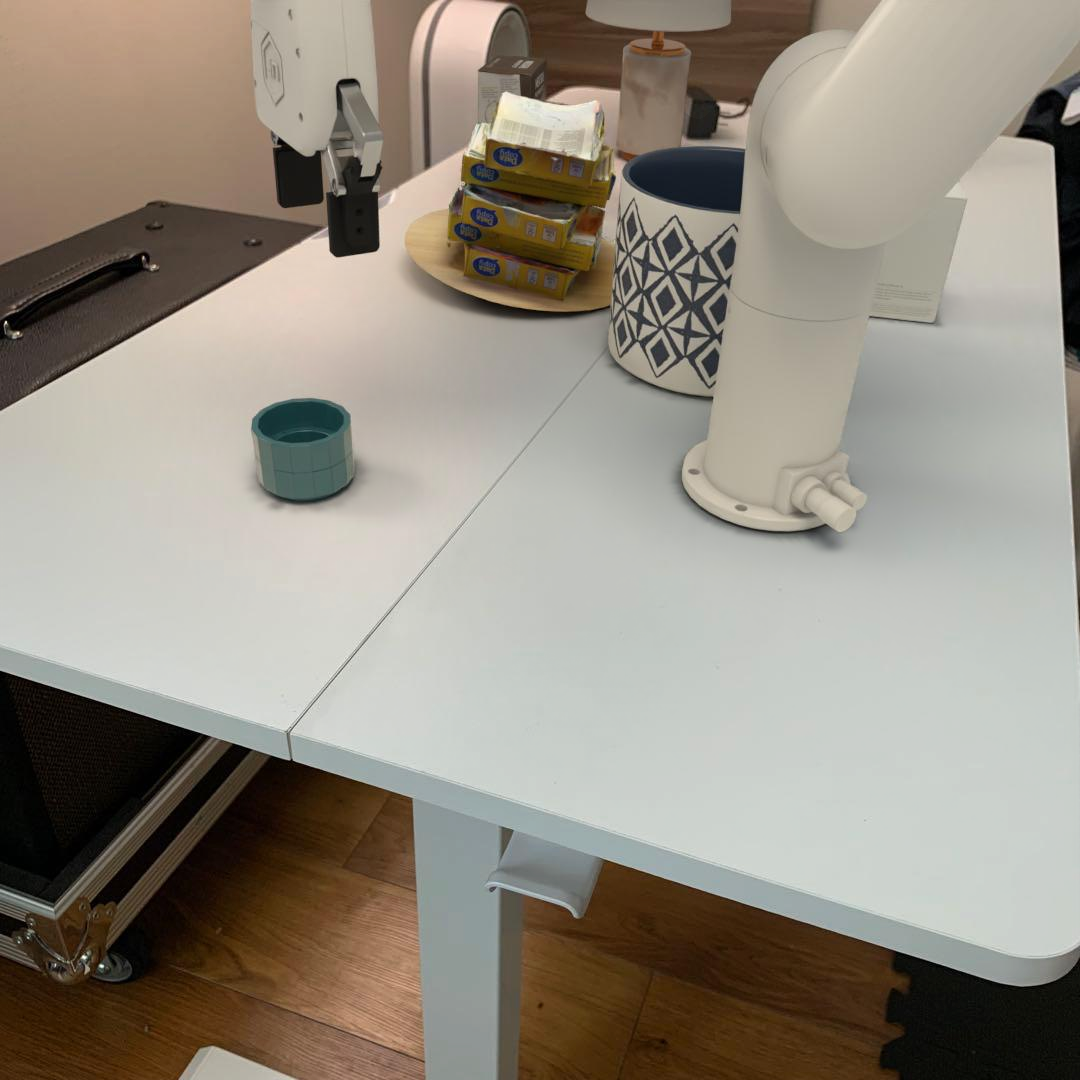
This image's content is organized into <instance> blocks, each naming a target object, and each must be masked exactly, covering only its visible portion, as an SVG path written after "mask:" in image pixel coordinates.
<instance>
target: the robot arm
mask: <svg viewBox="0 0 1080 1080" xmlns="http://www.w3.org/2000/svg"><path fill="white" fill-rule="evenodd" d="M371 4H372V3H371V0H250V30H251V31H250V32H251V33H250V34H251V50H252V51H251V52H252V71H253V88H254V89H253V90H254V102H255V103H254V104H255V111H256V114H257V117H258V119H259V121H260V122H261V123H262V124H263V125H264V126H265V127H266V128H268V129H269V130H270V131H269V133H270V139H271V140H270V141H271V143H272V145H273V146H274V147H272V155H273V157H272V158H273V167H274V168H273V169H274V180H275V190H276V191H275V192H276V201H277V204H278V205H279V206H280V207H281V208H282V209H291V208H292V209H293V208H299V207H304V206H305V207H307V206H308V207H309V206H316V205H321V204H322V203H323V202H324V200H325V196H326V200H325V201H326V214H327V233H328V249H329V252H330V254H331V255H332V256H334V257H335V258H346V257H352V256H358V255H365V254H371V253H377V252H378V251H379V250H380V245H381V244H380V243H381V241H380V215H379V213H380V212H379V192H380V190H381V180H380V176H381V173H382V170H383V166H382V160H381V157H382V152H383V148H384V142H385V141H384V139H385V138H384V137H385V136H384V133H383V131H382V128H381V126H380V125H379V89H378V88H379V86H378V70H377V68H378V67H377V57H376V56H377V55H376V45H375V32H374V31H375V30H374V23H373V14H372V5H371ZM1079 42H1080V0H880V2H878V4H877V6H875V8H874V10H873V11H872V12H871V14H870V15H869V17H868V18H867V19H866V21H865V22H864V23H863V25H862V26H860V28H859V30H858V31H856V30H851V29H828V30H821V31H818V32H817V31H816V32H814V33H811V34H809V35H806V36H804V37H802V38H800V39H798V40H797V41H795V42H793V43H792V44H790V46H788V47H787V48H785V49H784V50H783V51H782V52H781V53H780V54H779V55H778V56H777V57H776V58H775V59H774V60H773V61H772V62H771V65H770V66H769V67H768V68H767V70H766V72H765V73H764V74H763V76H762V78H761V80H760V82H759V83H758V86H757V88H756V92H755V93H754V97H753V100H752V102H751V106H750V112H749V116H748V122H747V127H746V128H747V130H746V138H745V147H744V149H745V160H744V174H743V188H742V200H741V210H740V219H739V227H738V235H737V243H736V250H735V257H734V264H733V271H732V278H731V284H730V289H729V296H728V303H727V309H726V316H725V323H724V330H723V337H722V343H721V350H720V357H719V364H718V371H717V377H716V384H715V391H714V397H712V398H713V399H712V405H711V411H710V420H709V427H708V432H707V438H706V439H704V440H703V441H701V442H699V443H697V444H695V445H694V446H693V447H692V448H691V449H689V450H688V452H687V453H686V455H685V456H684V459H683V463H682V469H681V481H682V485H683V488H684V490H685V491H686V492H687V494H688V495H689V497H690V498H691V499H692V500H693V501H694V502H695V503H696V504H697V505H698V506H700V507H701V508H703V509H704V510H706V511H707V512H708V513H710V514H712V515H714V516H716V517H718V518H720V519H721V520H724V521H727V522H730V523H732V524H735V525H738V526H741V527H746V528H750V529H755V530H761V531H768V532H797V531H805V530H810V529H814V528H819V527H821V526H823V525H825V524H826V526H827V525H828V526H829V527H830V528H831V529H833V530H834V531H835V532H837V533H843V532H846V531H847V530H849V529H850V528H851V526H852V525H853V524H854V523H855V521H856V518H857V511H860V510H861V509H863V508H864V506H865V505H866V503H867V501H868V495H867V494H866V493H865V492H863V491H862V490H860V489H859V488H857V487H855V486H854V485H852V482H851V478H850V476H849V474H848V472H847V467H848V463H849V459H850V456H849V455H848V454H846V453H845V452H844V451H842V450H840V445H841V440H842V437H843V431H844V427H845V424H846V419H847V416H848V415H847V414H848V410H849V407H850V402H851V397H852V394H853V389H854V384H855V380H856V375H857V371H858V367H859V364H860V359H861V355H862V351H863V345H864V341H865V337H866V333H867V328H868V324H869V319H870V317H871V316H870V311H871V307H872V304H873V301H874V296H875V292H876V288H877V283H878V279H879V274H880V269H881V264H882V258H883V253H884V247H885V241H888V240H890V239H892V238H894V237H896V236H898V235H899V234H901V233H903V232H904V231H906V230H908V229H909V228H910V227H912V226H913V225H914V224H916V223H917V222H918V221H920V220H921V219H922V218H923V217H924V216H925V215H926V214H927V213H929V212H930V211H931V210H932V209H933V208H934V207H935V206H936V205H937V204H938V203H939V202H940V201H941V200H942V199H943V198H944V197H945V196H946V195H947V193H948V192H949V191H950V190H951V189H952V188H953V187H954V186H955V185H956V184H957V183H958V181H959V180H960V181H961V180H962V178H963V177H964V176H965V175H966V174H967V173H968V171H969V170H970V169H971V168H972V167H973V166H974V165H975V164H976V162H977V161H978V160H979V159H980V158H981V157H982V156H983V154H984V153H985V152H986V151H987V150H988V149H989V148H990V147H991V146H992V145H993V143H995V141H996V140H997V139H998V138H999V137H1000V135H1001V134H1002V133H1004V131H1005V130H1006V129H1007V127H1008V126H1009V125H1010V124H1011V123H1012V122H1013V121H1014V119H1015V118H1016V117H1017V116H1018V115H1019V114H1020V113H1021V112H1022V110H1023V109H1024V108H1025V107H1026V105H1027V104H1028V103H1029V102H1030V101H1032V99H1033V98H1034V96H1036V94H1037V93H1038V92H1039V91H1040V90H1041V89H1042V87H1043V86H1044V85H1045V84H1046V83H1047V82H1048V81H1049V79H1050V78H1051V77H1052V76H1053V75H1054V74H1055V72H1056V71H1057V70H1058V69H1059V68H1060V66H1061V65H1062V63H1064V62H1065V60H1066V59H1067V58H1068V57H1069V56H1070V54H1071V53H1072V52H1073V51H1074V49H1075V48H1076V46H1077V45H1078V43H1079ZM339 138H340V139H339ZM341 138H345V139H341ZM331 139H333V140H331ZM342 157H348V159H347V160H346V164H345V166H344V167H343V170H342V166H341V162H340V159H339V158H342ZM322 160H323V161H322ZM323 164H324V167H325V171H326V174H327V177H328V181H329V184H330V188H331V191H326V192H325V194H324V179H323Z"/></svg>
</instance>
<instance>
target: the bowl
mask: <svg viewBox="0 0 1080 1080" xmlns="http://www.w3.org/2000/svg"><path fill="white" fill-rule="evenodd" d="M250 431H251V439H252V445H253V452H254V460H255V467H256V474H257V479H258V481H259V483H260V485H261V486H262V487H263V489H264V490H266V491H267V492H270V493H272V494H274V495H276V496H278V497H280V498H283V499H285V500H288V501H289V500H290V501H296V502H308V501H316V500H321V499H324V498H328V497H330V496H332V495H334V494H336V493H338V492H339V491H340V490H341V489H343V488H344V487H346V486H348V485H349V483H350V482H351V481H352V479H353V478H354V477H355V457H354V456H355V455H354V441H353V431H352V418H351V414H350V412H349V411H348V410H347V409H346V408H345V407H344V406H343V405H340V404H338V403H336V402H334V401H331V400H329V399H321V398H316V397H302V398H301V397H300V398H298V397H297V398H290V399H286V400H282V401H281V400H280V401H277V402H274V403H272V404H270V405H268V406H266V407H263V408H262V409H260V410H259V411H258V412H257V413H256V414H255V416H253V417H252V419H251V426H250Z"/></svg>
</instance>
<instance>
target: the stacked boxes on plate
mask: <svg viewBox="0 0 1080 1080" xmlns="http://www.w3.org/2000/svg"><path fill="white" fill-rule="evenodd" d="M602 105H603V104H602V103H601V101H600V100H597V99H594V100H592V101H589V102H588V101H587V102H584V103H579V104H566V103H564V102H563V103H562V102H557V101H550V100H546V101H544V100H538V99H531V98H528V97H523V96H518V95H514V94H511V93H509V92H507V91H506V92H504V93H502V94H501V97H500V99H499V101H498V102H497V103H496V110H495V112H494V113H492V111H489V116H491V115H492V116H491V120H490V123H489V124H487V122H486V123H483V122H482V123H480V122H478V121H477V122H476V124H475V125H474V127H473V129H472V132H471V134H470V136H469V139H468V144H467V146H466V149H465V151H464V153H463V154H462V158H461V172H460V180H461V182H464V185H463V184H461V185H460V186H461V189H460V187H457V189H456V191H455V193H454V196H453V197H452V199H451V201H450V203H449V204H448V208H445V209H440V210H436V211H432V212H429V213H426V214H424V215H422V216H420V217H419V218H416V219H415V220H414V221H413V222H412V223H411V224H410V225H409V226H408V228H407V229H406V231H405V233H404V246H405V249H406V251H407V253H408V255H409V257H411V259H412V260H413V262H414V263H416V264H417V265H418V266H419V267H420V268H421V269H422V270H423V271H425V272H426V273H427V274H428V275H430V276H432V277H433V278H435V280H438V281H440V282H441V283H443V284H445V285H446V286H449V287H451V288H453V289H456V290H458V291H460V292H462V293H465V294H468V295H471V296H474V297H477V298H478V299H483V300H486V301H488V302H492V303H497V304H500V305H504V306H509V307H513V308H521V309H526V310H532V311H533V310H534V311H535V310H536V311H545V312H547V311H548V312H582V311H583V312H584V311H592V310H598V309H602V308H607V307H609V306H610V304H611V292H612V279H613V266H614V254H615V244H613V242H612V241H609V240H608V239H606V238H605V237H602V236H603V229H604V220H605V215H606V210H603V209H605V208H606V206H607V205H606V204H607V203H608V201H610V199H611V196H612V192H613V189H614V186H615V183H616V181H617V174H616V170H615V169H616V168H615V163H614V161H615V158H614V157H615V152H614V151H615V150H614V149H615V148H613V146H612V145H607V144H604V137H606V134H605V127H606V123H605V121H606V119H605V111H604V110H603V108H602ZM493 108H494V106H492V108H491V110H494V109H493ZM491 113H492V114H491ZM487 118H488V117H487Z"/></svg>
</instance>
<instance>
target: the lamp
mask: <svg viewBox="0 0 1080 1080" xmlns="http://www.w3.org/2000/svg"><path fill="white" fill-rule="evenodd" d="M585 7H586V8H585V16H586V17H587V18H589V19H590V20H593V21H594V22H597V23H600V24H604V25H608V26H611V27H617V28H623V29H630V30H637V31H638V30H639V31H650V32H653V34H652V36H653V37H652V38H639V39H634V40H632V41H630V42H629V44H627V45H625V46H624V47H623V50H622V63H621V74H620V75H621V76H620V77H621V78H620V86H619V87H620V88H619V101H618V116H617V129H616V143H615V145H616V148H617V149H618V150H620V157H621V158H622V159H623V160H625V161H627V162H628V161H630V160H631V159H633V158H635V157H636V156H639V155H642V154H644V153H648V152H651V151H655V150H661V149H667V148H676V147H682V142H683V133H684V132H683V130H684V122H685V121H684V120H685V113H686V104H687V95H688V87H689V86H688V85H689V76H690V75H689V74H690V67H691V59H692V58H691V57H692V51H691V50H690V49H689V48H687V47H686V44H684V43H682V42H681V41H680V42H679V41H676V40H674V39H673V40H672V39H666V38H664V37H665V36H664V35H665V32H667V33H686V32H689V33H690V32H702V31H703V32H704V31H712V30H716V29H721V28H724V27H727V26H728V25H730V24H731V22H732V0H587V1H586V6H585Z"/></svg>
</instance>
